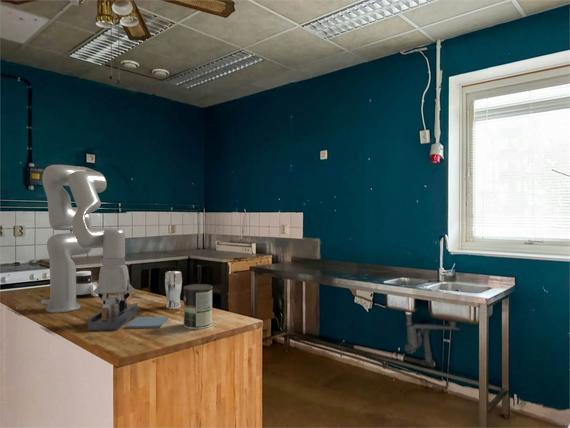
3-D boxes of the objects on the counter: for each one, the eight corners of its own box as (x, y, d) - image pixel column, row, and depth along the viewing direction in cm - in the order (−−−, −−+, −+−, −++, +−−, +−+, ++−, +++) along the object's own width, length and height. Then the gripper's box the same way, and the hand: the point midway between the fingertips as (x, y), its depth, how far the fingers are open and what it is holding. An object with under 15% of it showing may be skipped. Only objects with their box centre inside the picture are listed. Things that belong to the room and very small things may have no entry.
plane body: (117, 330, 140) (117, 310, 140) (87, 330, 139) (87, 310, 139) (137, 313, 162) (137, 296, 162) (112, 313, 161) (112, 296, 161)
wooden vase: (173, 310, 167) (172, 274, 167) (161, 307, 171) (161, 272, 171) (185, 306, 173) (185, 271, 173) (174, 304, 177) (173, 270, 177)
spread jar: (74, 295, 196) (74, 271, 196) (99, 292, 201) (99, 269, 201) (74, 300, 185) (73, 274, 185) (101, 297, 190) (101, 273, 190)
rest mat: (125, 328, 142) (125, 326, 142) (136, 319, 154) (136, 316, 154) (159, 328, 142) (159, 325, 142) (167, 318, 154) (167, 316, 154)
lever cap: (116, 316, 146) (116, 298, 146) (102, 316, 146) (102, 299, 146) (125, 310, 155) (125, 293, 155) (112, 310, 155) (112, 293, 155)
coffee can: (180, 329, 140) (180, 289, 140) (186, 321, 151) (186, 283, 150) (210, 329, 141) (210, 289, 141) (214, 321, 151) (214, 283, 151)
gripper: (86, 263, 146) (86, 313, 146) (134, 263, 147) (134, 313, 147) (95, 260, 153) (95, 308, 154) (140, 260, 154) (140, 308, 154)
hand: (114, 310), depth 150 cm, fingers closed on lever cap, 5 cm apart
